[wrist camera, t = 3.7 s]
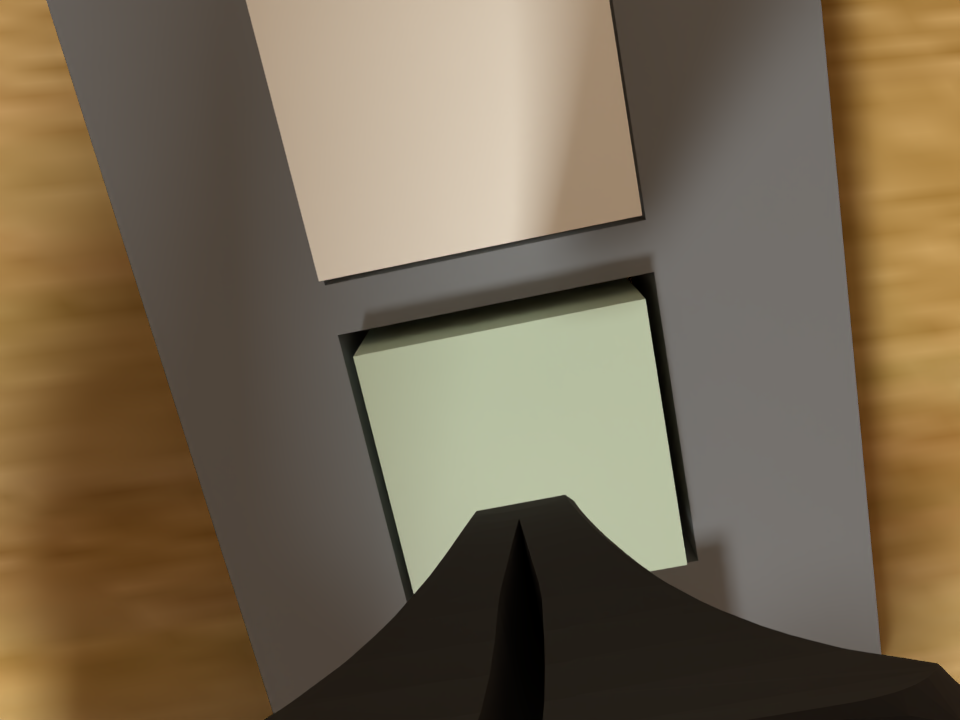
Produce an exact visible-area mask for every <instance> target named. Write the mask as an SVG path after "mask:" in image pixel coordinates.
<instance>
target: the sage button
mask: <svg viewBox="0 0 960 720" xmlns="http://www.w3.org/2000/svg"><path fill="white" fill-rule="evenodd" d="M353 358H354V362H355V366H356V370H357V374H358V378H359V382H360V385H361V389H362V393H363V397H364V401H365V405H366V409H367V413H368V417H369V421H370V425H371V429H372V432H373V436H374V440H375V444H376V448H377V452H378V456H379V460H380V464H381V468H382V472H383V476H384V479H385V483H386V487H387V491H388V495H389V499H390V503H391V507H392V511H393V515H394V519H395V523H396V527H397V530H398V534H399V538H400V542H401V546H402V550H403V554H404V558H405V562H406V566H407V570H408V574H409V577H410V581H411V585H412V589H413V593H415V592H416V591H417V590H418V589H419V588H420V586H421V585H422V584H423V583H424V582H425V581H426V580H427V578H428V577H429V576H430V575H431V573H432V572H433V571H434V569H435V568H436V567H437V565H438V564H439V563H440V561H441V560H442V559H443V557H444V556H445V554H446V553H447V552H448V550H449V549H450V547H451V546H452V545H453V543H454V542H455V540H456V539H457V537H458V536H459V534H460V533H461V532H462V530H463V529H464V527H465V526H466V524H467V523H468V522H469V520H470V519H471V518H472V516H473V515H474V514H475V512H476V511H479V510H485V509H490V508H496V507H501V506H506V505H512V504H517V503H523V502H528V501H533V500H539V499H544V498H550V497H555V496H561V495H566V496H568V497H569V498H571V499H572V500H574V501H575V503H576V504H577V506H578V507H579V508H580V510H581V511H582V512H583V513H584V514H585V515H586V517H587V518H588V519H589V520H590V521H591V522H592V523H593V524H594V525H595V526H596V527H597V528H598V529H599V530H600V531H601V532H602V533H603V534H604V535H605V536H606V537H608V538H609V539H610V540H611V541H612V542H613V543H615V544H616V545H617V546H618V547H619V548H620V549H622V550H623V551H624V552H625V553H626V554H627V555H629V556H630V557H631V558H632V559H634V560H635V561H636V562H638V563H639V564H640V565H642V566H643V567H644V568H646V569H647V570H649V571H655V570H660V569H666V568H672V567H677V566H683V565H687V560H686V554H685V547H684V541H683V535H682V528H681V522H680V516H679V509H678V503H677V496H676V490H675V484H674V477H673V471H672V465H671V458H670V452H669V446H668V439H667V433H666V427H665V420H664V414H663V407H662V401H661V395H660V388H659V382H658V376H657V369H656V363H655V357H654V350H653V344H652V337H651V331H650V325H649V318H648V312H647V306H646V299H645V298H644V297H643V296H642V294H641V293H640V292H639V291H638V290H637V289H636V288H635V287H634V286H633V285H632V283H631V282H630V281H629V280H628V279H627V278H621V279H616V280H611V281H606V282H601V283H596V284H591V285H586V286H581V287H576V288H571V289H566V290H561V291H556V292H551V293H546V294H541V295H536V296H531V297H526V298H521V299H516V300H511V301H506V302H501V303H496V304H491V305H486V306H481V307H476V308H471V309H466V310H461V311H456V312H451V313H446V314H441V315H436V316H431V317H426V318H421V319H416V320H411V321H406V322H401V323H396V324H391V325H386V326H381V327H376V328H371V329H370V330H369V332H368V333H367V335H366V336H365V338H364V340H363V341H362V343H361V345H360V346H359V348H358V350H357V351H356V353H355V354H354V356H353Z"/></svg>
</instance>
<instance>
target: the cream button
mask: <svg viewBox="0 0 960 720" xmlns="http://www.w3.org/2000/svg"><path fill="white" fill-rule="evenodd" d="M246 3H247V7H248V11H249V15H250V18H251V22H252V26H253V30H254V34H255V38H256V42H257V45H258V49H259V53H260V57H261V61H262V65H263V68H264V72H265V76H266V80H267V84H268V88H269V92H270V95H271V99H272V103H273V107H274V111H275V115H276V118H277V122H278V126H279V130H280V134H281V138H282V142H283V145H284V149H285V153H286V157H287V161H288V165H289V168H290V172H291V176H292V180H293V184H294V188H295V192H296V195H297V199H298V203H299V207H300V211H301V215H302V218H303V222H304V226H305V230H306V234H307V238H308V242H309V245H310V249H311V253H312V257H313V261H314V265H315V268H316V272H317V276H318V280H319V281H324V280H329V279H334V278H339V277H344V276H349V275H353V274H358V273H363V272H368V271H373V270H378V269H383V268H388V267H393V266H397V265H402V264H407V263H412V262H417V261H422V260H427V259H432V258H436V257H441V256H446V255H451V254H456V253H461V252H466V251H471V250H476V249H480V248H485V247H490V246H495V245H500V244H505V243H510V242H515V241H520V240H524V239H529V238H534V237H539V236H544V235H549V234H554V233H559V232H564V231H568V230H573V229H578V228H583V227H588V226H593V225H598V224H603V223H607V222H612V221H617V220H622V219H627V218H632V217H637V216H642V210H641V204H640V197H639V191H638V184H637V178H636V171H635V165H634V158H633V152H632V145H631V139H630V132H629V126H628V119H627V113H626V106H625V100H624V93H623V87H622V80H621V74H620V67H619V61H618V54H617V48H616V41H615V35H614V28H613V22H612V15H611V9H610V2H609V0H246Z"/></svg>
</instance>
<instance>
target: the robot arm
mask: <svg viewBox="0 0 960 720" xmlns="http://www.w3.org/2000/svg"><path fill="white" fill-rule="evenodd" d="M265 720H960V684H958V683H957V682H956V681H955V680H954V679H953V678H952V677H951V676H950V675H949V674H948V673H947V672H946V671H945V670H944V669H943V668H942V667H941V666H940V665H939V664H937V663H931V662H925V661H918V660H912V659H906V658H900V657H894V656H887V655H881V654H875V653H869V652H862V651H856V650H850V649H845V648H840V647H836V646H832V645H828V644H824V643H820V642H816V641H812V640H808V639H805V638H801V637H797V636H793V635H789V634H786V633H783V632H780V631H777V630H773V629H770V628H767V627H764V626H761V625H758V624H756V623H753V622H750V621H748V620H745V619H743V618H740V617H737V616H735V615H732V614H730V613H727V612H725V611H722V610H720V609H717V608H715V607H713V606H711V605H709V604H706V603H704V602H702V601H700V600H698V599H696V598H694V597H692V596H691V595H689V594H687V593H685V592H683V591H681V590H679V589H677V588H676V587H674V586H672V585H670V584H668V583H666V582H665V581H663V580H661V579H660V578H659V577H657V576H656V575H654V574H653V573H651V572H650V571H649V570H647V569H646V568H644V567H643V566H642V565H640V564H639V563H638V562H636V561H635V560H634V559H632V558H631V557H630V556H629V555H627V554H626V553H625V552H624V551H623V550H622V549H620V548H619V547H618V546H617V545H616V544H615V543H613V542H612V541H611V540H610V539H609V538H608V537H606V536H605V535H604V534H603V533H602V532H601V531H600V530H599V529H598V528H597V527H596V526H595V525H594V524H593V523H592V522H591V521H590V520H589V519H588V518H587V517H586V515H585V514H584V513H583V512H582V511H581V510H580V508H579V507H578V506H577V504H576V503H575V501H574V500H572V499H571V498H569V497H568V496H566V495H561V496H555V497H550V498H544V499H539V500H533V501H528V502H523V503H517V504H512V505H506V506H501V507H496V508H490V509H485V510H479V511H476V512H475V514H474V515H473V516H472V518H471V519H470V520H469V522H468V523H467V524H466V526H465V527H464V529H463V530H462V532H461V533H460V534H459V536H458V537H457V539H456V540H455V542H454V543H453V545H452V546H451V547H450V549H449V550H448V552H447V553H446V554H445V556H444V557H443V559H442V560H441V561H440V563H439V564H438V565H437V567H436V568H435V569H434V571H433V572H432V573H431V575H430V576H429V577H428V578H427V580H426V581H425V582H424V583H423V584H422V585H421V586H420V588H419V589H418V590H417V591H416V592H415V593H414V595H413V596H412V597H411V598H410V599H409V600H408V601H407V603H406V604H405V605H404V606H403V607H402V608H401V610H400V611H399V612H398V613H397V614H396V615H395V616H394V617H393V618H392V619H391V620H390V621H389V622H388V623H387V624H386V625H385V626H384V627H383V628H382V629H381V630H380V631H379V632H378V633H377V634H376V635H375V636H374V637H373V638H372V639H371V640H370V641H368V642H367V643H366V644H365V645H364V646H363V647H362V648H361V649H360V650H358V651H357V652H356V653H355V654H354V655H353V656H352V657H351V658H349V659H348V660H347V661H346V662H344V663H343V664H342V665H341V666H340V667H338V668H337V669H336V670H334V671H333V672H331V673H330V674H329V675H327V676H326V677H325V678H323V679H322V680H321V681H319V682H318V683H317V684H315V685H314V686H313V687H311V688H310V689H308V690H307V691H306V692H304V693H303V694H302V695H300V696H299V697H298V698H296V699H295V700H294V701H292V702H291V703H289V704H288V705H286V706H285V707H283V708H282V709H280V710H279V711H277V712H276V713H274V714H273V715H271V716H269V717H268V718H266V719H265Z"/></svg>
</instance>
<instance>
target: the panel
mask: <svg viewBox="0 0 960 720" xmlns="http://www.w3.org/2000/svg"><path fill="white" fill-rule="evenodd" d="M609 2H610V9H611V15H612V22H613V28H614V35H615V41H616V48H617V54H618V61H619V67H620V74H621V80H622V87H623V93H624V100H625V106H626V113H627V119H628V126H629V132H630V139H631V145H632V152H633V158H634V165H635V171H636V178H637V184H638V191H639V197H640V204H641V210H642V216H637V217H632V218H627V219H622V220H617V221H612V222H607V223H603V224H598V225H593V226H588V227H583V228H578V229H573V230H568V231H564V232H559V233H554V234H549V235H544V236H539V237H534V238H529V239H524V240H520V241H515V242H510V243H505V244H500V245H495V246H490V247H485V248H480V249H476V250H471V251H466V252H461V253H456V254H451V255H446V256H441V257H436V258H432V259H427V260H422V261H417V262H412V263H407V264H402V265H397V266H393V267H388V268H383V269H378V270H373V271H368V272H363V273H358V274H353V275H349V276H344V277H339V278H334V279H329V280H324V281H319V280H318V276H317V272H316V268H315V265H314V261H313V257H312V253H311V249H310V245H309V242H308V238H307V234H306V230H305V226H304V222H303V218H302V215H301V211H300V207H299V203H298V199H297V195H296V192H295V188H294V184H293V180H292V176H291V172H290V168H289V165H288V161H287V157H286V153H285V149H284V145H283V142H282V138H281V134H280V130H279V126H278V122H277V118H276V115H275V111H274V107H273V103H272V99H271V95H270V92H269V88H268V84H267V80H266V76H265V72H264V68H263V65H262V61H261V57H260V53H259V49H258V45H257V42H256V38H255V34H254V30H253V26H252V22H251V18H250V15H249V11H248V7H247V3H246V0H47V3H48V7H49V10H50V13H51V16H52V19H53V22H54V25H55V29H56V32H57V35H58V38H59V41H60V44H61V47H62V51H63V54H64V57H65V60H66V63H67V66H68V69H69V73H70V76H71V79H72V82H73V85H74V88H75V91H76V95H77V98H78V101H79V104H80V107H81V110H82V113H83V117H84V120H85V123H86V126H87V129H88V132H89V135H90V139H91V142H92V145H93V148H94V151H95V154H96V157H97V161H98V164H99V167H100V170H101V173H102V176H103V179H104V183H105V186H106V189H107V192H108V195H109V198H110V202H111V205H112V208H113V211H114V214H115V217H116V220H117V224H118V227H119V230H120V233H121V236H122V239H123V242H124V246H125V249H126V252H127V255H128V258H129V261H130V264H131V268H132V271H133V274H134V277H135V280H136V283H137V286H138V290H139V293H140V296H141V299H142V302H143V305H144V308H145V312H146V315H147V318H148V321H149V324H150V327H151V330H152V334H153V337H154V340H155V343H156V346H157V349H158V352H159V356H160V359H161V362H162V365H163V368H164V371H165V374H166V378H167V381H168V384H169V387H170V390H171V393H172V396H173V400H174V403H175V406H176V409H177V412H178V415H179V418H180V422H181V425H182V428H183V431H184V434H185V437H186V441H187V444H188V447H189V450H190V453H191V456H192V459H193V463H194V466H195V469H196V472H197V475H198V478H199V481H200V485H201V488H202V491H203V494H204V497H205V500H206V503H207V507H208V510H209V513H210V516H211V519H212V522H213V525H214V529H215V532H216V535H217V538H218V541H219V544H220V547H221V551H222V554H223V557H224V560H225V563H226V566H227V569H228V573H229V576H230V579H231V582H232V585H233V588H234V591H235V595H236V598H237V601H238V604H239V607H240V610H241V613H242V617H243V620H244V623H245V626H246V629H247V632H248V635H249V639H250V642H251V645H252V648H253V651H254V654H255V657H256V661H257V664H258V667H259V670H260V673H261V676H262V680H263V683H264V686H265V689H266V692H267V695H268V698H269V702H270V705H271V708H272V711H273V714H274V713H276V712H277V711H279V710H280V709H282V708H283V707H285V706H286V705H288V704H289V703H291V702H292V701H294V700H295V699H296V698H298V697H299V696H300V695H302V694H303V693H304V692H306V691H307V690H308V689H310V688H311V687H313V686H314V685H315V684H317V683H318V682H319V681H321V680H322V679H323V678H325V677H326V676H327V675H329V674H330V673H331V672H333V671H334V670H336V669H337V668H338V667H340V666H341V665H342V664H343V663H344V662H346V661H347V660H348V659H349V658H351V657H352V656H353V655H354V654H355V653H356V652H357V651H358V650H360V649H361V648H362V647H363V646H364V645H365V644H366V643H367V642H368V641H370V640H371V639H372V638H373V637H374V636H375V635H376V634H377V633H378V632H379V631H380V630H381V629H382V628H383V627H384V626H385V625H386V624H387V623H388V622H389V621H390V620H391V619H392V618H393V617H394V616H395V615H396V614H397V613H398V612H399V611H400V610H401V608H402V607H403V606H404V605H405V604H406V603H407V601H408V600H409V599H410V598H411V597H412V596H413V595H414V593H413V589H412V585H411V581H410V577H409V574H408V570H407V566H406V562H405V558H404V554H403V550H402V546H401V542H400V538H399V534H398V530H397V527H396V523H395V519H394V515H393V511H392V507H391V503H390V499H389V495H388V491H387V487H386V483H385V479H384V476H383V472H382V468H381V464H380V460H379V456H378V452H377V448H376V444H375V440H374V436H373V432H372V429H371V425H370V421H369V417H368V413H367V409H366V405H365V401H364V397H363V393H362V389H361V385H360V382H359V378H358V374H357V370H356V366H355V362H354V358H353V356H354V354H355V353H356V351H357V350H358V348H359V346H360V345H361V343H362V341H363V340H364V338H365V336H366V335H367V333H368V332H369V330H370V329H371V328H376V327H381V326H386V325H391V324H396V323H401V322H406V321H411V320H416V319H421V318H426V317H431V316H436V315H441V314H446V313H451V312H456V311H461V310H466V309H471V308H476V307H481V306H486V305H491V304H496V303H501V302H506V301H511V300H516V299H521V298H526V297H531V296H536V295H541V294H546V293H551V292H556V291H561V290H566V289H571V288H576V287H581V286H586V285H591V284H596V283H601V282H606V281H611V280H616V279H621V278H626V277H632V283H633V286H634V287H635V288H636V289H637V290H638V291H639V292H640V293H641V294H642V296H643V297H644V298H645V299H646V306H647V312H648V318H649V325H650V331H651V337H652V344H653V350H654V357H655V363H656V369H657V376H658V382H659V388H660V395H661V401H662V407H663V414H664V420H665V427H666V433H667V439H668V446H669V452H670V458H671V465H672V471H673V477H674V484H675V490H676V496H677V503H678V509H679V516H680V522H681V528H682V535H683V541H684V547H685V554H686V560H687V565H683V566H677V567H672V568H666V569H660V570H655V571H650V572H651V573H653V574H654V575H656V576H657V577H659V578H660V579H661V580H663V581H665V582H666V583H668V584H670V585H672V586H674V587H676V588H677V589H679V590H681V591H683V592H685V593H687V594H689V595H691V596H692V597H694V598H696V599H698V600H700V601H702V602H704V603H706V604H709V605H711V606H713V607H715V608H717V609H720V610H722V611H725V612H727V613H730V614H732V615H735V616H737V617H740V618H743V619H745V620H748V621H750V622H753V623H756V624H758V625H761V626H764V627H767V628H770V629H773V630H777V631H780V632H783V633H786V634H789V635H793V636H797V637H801V638H805V639H808V640H812V641H816V642H820V643H824V644H828V645H832V646H836V647H840V648H845V649H850V650H856V651H862V652H869V653H875V654H881V645H880V634H879V624H878V613H877V602H876V591H875V580H874V570H873V559H872V548H871V537H870V526H869V516H868V505H867V494H866V483H865V472H864V461H863V451H862V440H861V429H860V418H859V407H858V397H857V386H856V375H855V364H854V353H853V342H852V332H851V321H850V310H849V299H848V288H847V278H846V267H845V256H844V245H843V234H842V223H841V213H840V202H839V191H838V180H837V169H836V159H835V148H834V137H833V126H832V115H831V104H830V94H829V83H828V72H827V61H826V50H825V40H824V29H823V18H822V7H821V0H609Z"/></svg>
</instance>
